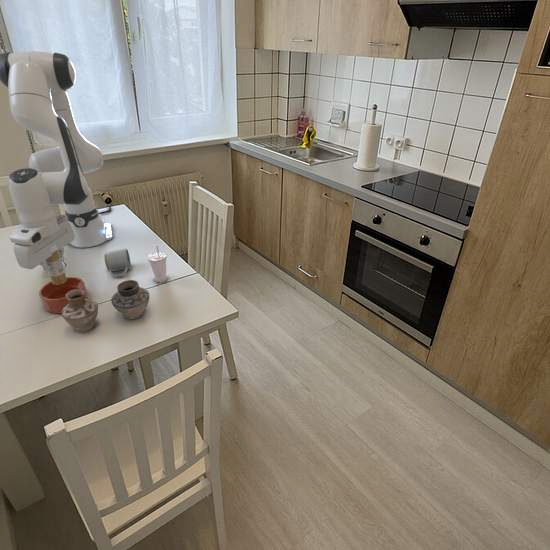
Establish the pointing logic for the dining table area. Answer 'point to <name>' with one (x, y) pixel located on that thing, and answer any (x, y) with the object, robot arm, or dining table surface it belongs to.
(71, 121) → the robot arm
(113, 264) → the ceramic mug
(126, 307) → the pottery
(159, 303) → the dining table surface
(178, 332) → the dining table surface
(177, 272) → the dining table surface
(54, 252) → the sprinkles bottle
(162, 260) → the smoothie
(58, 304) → the bowl
